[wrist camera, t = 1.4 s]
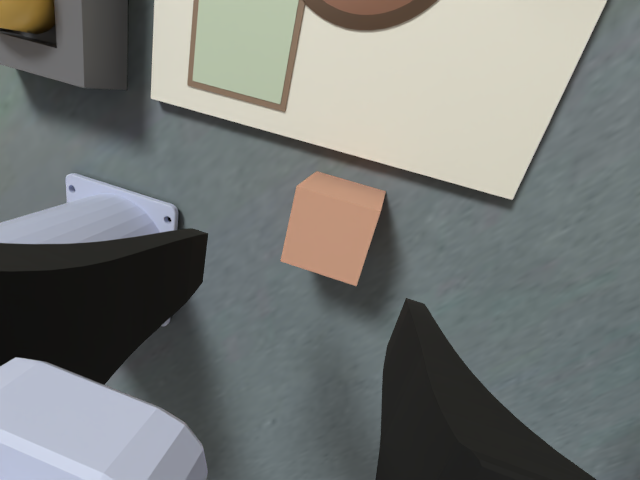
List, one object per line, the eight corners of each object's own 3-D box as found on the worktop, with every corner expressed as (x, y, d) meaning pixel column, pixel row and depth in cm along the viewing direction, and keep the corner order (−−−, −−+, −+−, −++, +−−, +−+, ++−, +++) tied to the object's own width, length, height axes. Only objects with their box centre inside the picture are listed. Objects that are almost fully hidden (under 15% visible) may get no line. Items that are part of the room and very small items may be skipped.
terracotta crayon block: (365, 254, 21) (356, 286, 18) (302, 234, 22) (280, 261, 18) (385, 191, 20) (380, 211, 16) (316, 171, 20) (296, 186, 16)
